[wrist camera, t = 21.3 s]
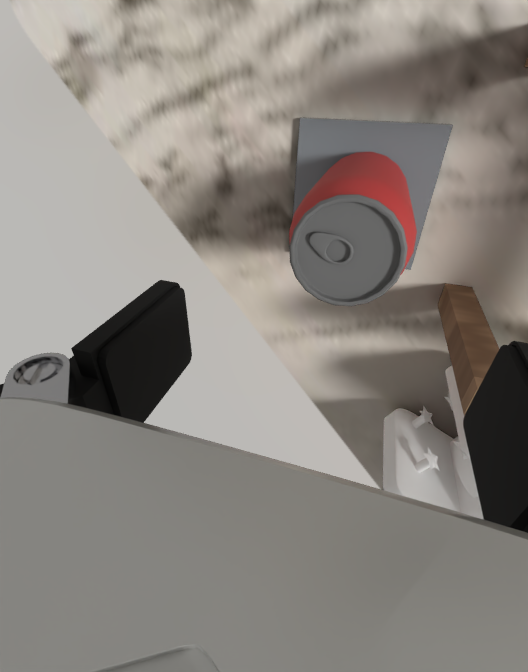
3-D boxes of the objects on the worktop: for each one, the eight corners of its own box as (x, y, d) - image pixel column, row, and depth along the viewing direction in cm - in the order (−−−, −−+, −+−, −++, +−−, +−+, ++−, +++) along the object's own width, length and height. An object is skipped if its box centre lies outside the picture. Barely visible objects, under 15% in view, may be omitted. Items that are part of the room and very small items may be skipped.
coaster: (451, 124, 22) (452, 124, 22) (410, 266, 28) (410, 269, 28) (301, 117, 25) (300, 117, 24) (291, 251, 30) (290, 253, 30)
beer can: (344, 133, 24) (315, 154, 14) (428, 176, 24) (454, 226, 14) (303, 218, 28) (259, 279, 19) (375, 256, 28) (368, 336, 18)
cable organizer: (586, 432, 32) (665, 566, 23) (488, 477, 38) (520, 596, 29) (455, 346, 31) (483, 450, 22) (378, 407, 37) (375, 507, 28)
